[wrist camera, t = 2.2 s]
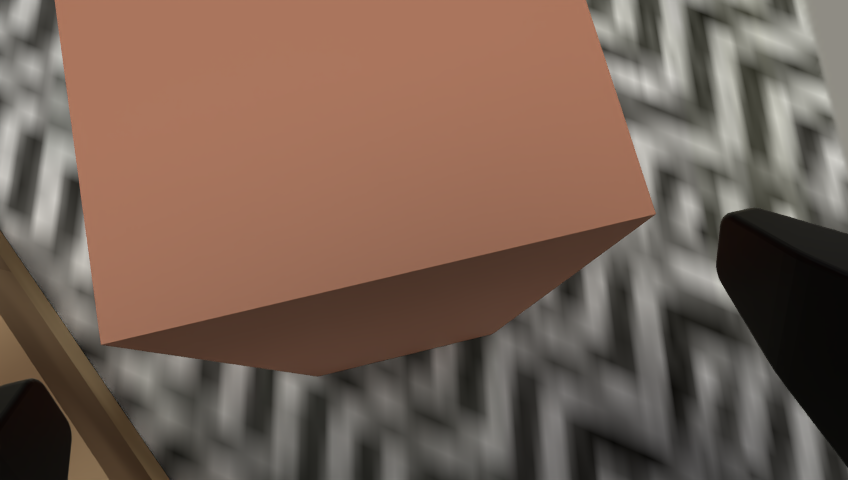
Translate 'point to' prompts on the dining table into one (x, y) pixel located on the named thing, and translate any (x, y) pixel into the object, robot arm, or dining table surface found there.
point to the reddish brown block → (339, 171)
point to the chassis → (66, 380)
